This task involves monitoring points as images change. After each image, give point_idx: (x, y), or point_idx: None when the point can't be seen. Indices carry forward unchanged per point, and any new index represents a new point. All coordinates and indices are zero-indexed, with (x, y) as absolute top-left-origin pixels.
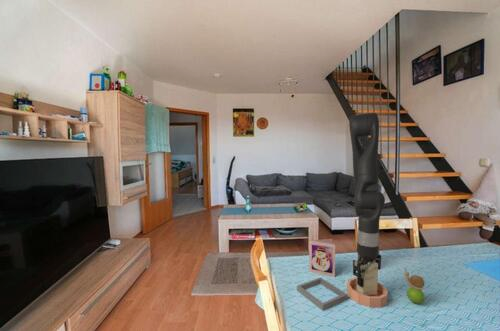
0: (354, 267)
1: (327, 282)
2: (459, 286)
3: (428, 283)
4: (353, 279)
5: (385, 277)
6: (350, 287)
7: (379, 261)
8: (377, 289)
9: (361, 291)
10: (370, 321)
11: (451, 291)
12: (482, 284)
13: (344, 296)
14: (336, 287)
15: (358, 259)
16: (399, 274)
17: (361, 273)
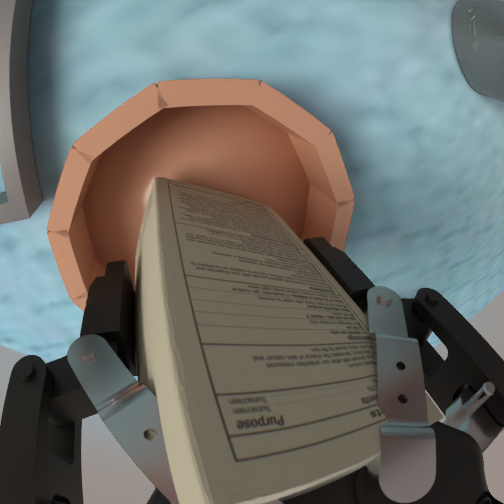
0: (12, 477)
1: (5, 20)
2: (475, 288)
3: (469, 255)
4: (213, 102)
5: (450, 151)
6: (64, 205)
7: (442, 401)
8: (308, 222)
9: (137, 250)
10: (63, 350)
11: (452, 299)
12: (490, 294)
13: (5, 222)
14: (10, 106)
15: (487, 8)
16: (485, 175)
17: (142, 377)
